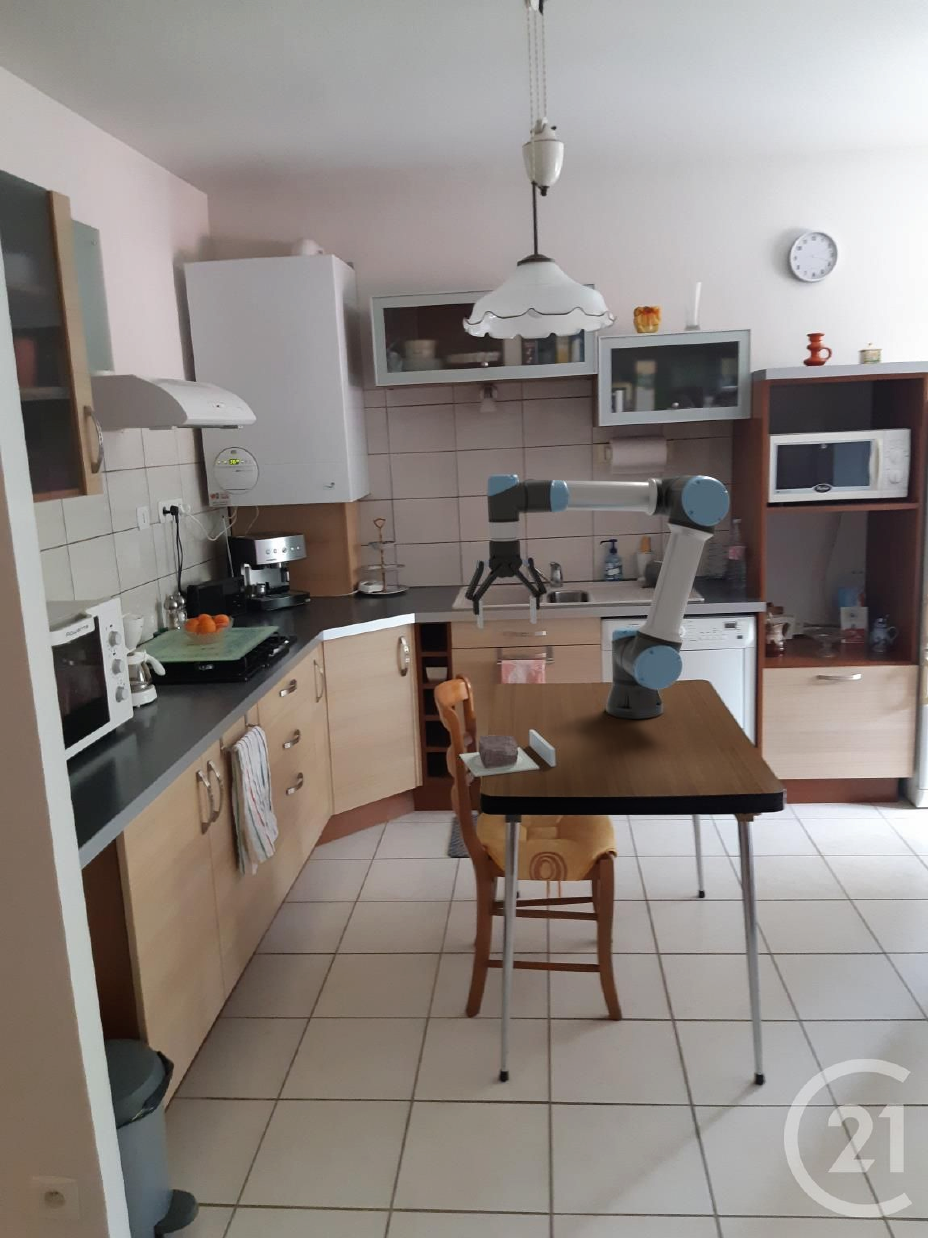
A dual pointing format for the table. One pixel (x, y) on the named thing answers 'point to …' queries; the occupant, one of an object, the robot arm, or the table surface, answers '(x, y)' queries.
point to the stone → (497, 750)
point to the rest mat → (478, 769)
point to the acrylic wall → (542, 747)
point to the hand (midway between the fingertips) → (507, 625)
